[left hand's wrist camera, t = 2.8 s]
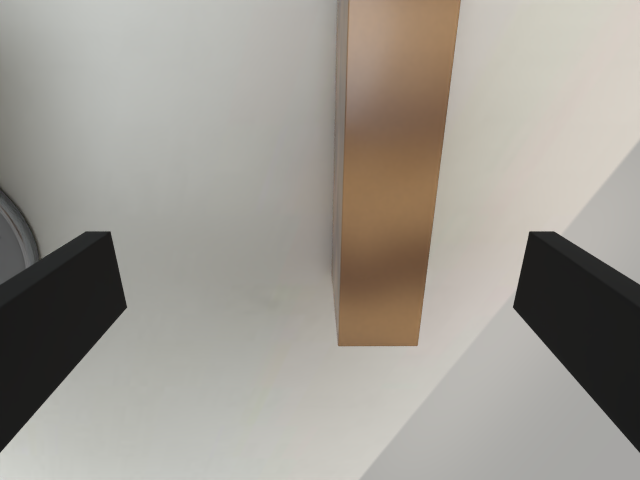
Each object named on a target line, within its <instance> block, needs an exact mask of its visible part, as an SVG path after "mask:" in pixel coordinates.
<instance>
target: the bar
mask: <svg viewBox="0 0 640 480" xmlns="http://www.w3.org/2000/svg"><path fill="white" fill-rule="evenodd" d="M460 2H461V0H337V42H336V90H335V138H334V187H333V235H332V284H333V295H334V307H335V318H336V329H337V340H338V346H417V345H418V338H419V330H420V322H421V314H422V306H423V298H424V290H425V282H426V274H427V266H428V258H429V250H430V242H431V234H432V226H433V218H434V210H435V202H436V194H437V186H438V178H439V170H440V162H441V154H442V146H443V138H444V130H445V122H446V114H447V106H448V98H449V90H450V82H451V74H452V66H453V58H454V50H455V42H456V34H457V26H458V18H459V10H460Z"/></svg>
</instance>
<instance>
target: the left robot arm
mask: <svg viewBox="0 0 640 480" xmlns="http://www.w3.org/2000/svg"><path fill="white" fill-rule="evenodd" d="M126 308H127V305H126V301H125V296H124V291H123V287H122V282H121V278H120V273H119V268H118V264H117V259H116V255H115V250H114V245H113V241H112V236H111V232H84V233H83V234H81V235H80V236H78V237H76V238H75V239H73V240H72V241H70V242H68V243H67V244H65V245H63V246H62V247H60V248H59V249H57V250H55V251H54V252H52V253H51V254H49V255H47V256H46V257H44V258H42V259H41V260H39V256H38V250H37V246H36V243H35V240H34V237H33V235H32V232H31V230H30V228H29V226H28V224H27V222H26V221H25V219H24V217H23V216H22V214H21V213H20V212H19V210H18V209H17V207H16V206H15V205H14V204H13V202H12V201H11V200H10V199H9V198H8V197H7V196H6V195H5V194H4V193H3V192H2V191H1V190H0V452H1V451H2V450H3V449H4V448H5V447H6V445H7V444H8V443H9V442H10V441H11V440H12V439H13V437H14V436H15V435H16V434H17V433H18V432H19V431H20V429H21V428H22V427H23V426H24V425H25V424H26V423H27V421H28V420H29V419H30V418H31V417H32V416H33V415H34V413H35V412H36V411H37V410H38V409H39V408H40V406H41V405H42V404H43V403H44V402H45V401H46V400H47V398H48V397H49V396H50V395H51V394H52V393H53V392H54V390H55V389H56V388H57V387H58V386H59V385H60V384H61V382H62V381H63V380H64V379H65V378H66V377H67V376H68V374H69V373H70V372H71V371H72V370H73V369H74V368H75V366H76V365H77V364H78V363H79V362H80V361H81V360H82V358H83V357H84V356H85V355H86V354H87V353H88V352H89V350H90V349H91V348H92V347H93V346H94V345H95V344H96V342H97V341H98V340H99V339H100V338H101V337H102V335H103V334H104V333H105V332H106V331H107V330H108V329H109V327H110V326H111V325H112V324H113V323H114V322H115V321H116V319H117V318H118V317H119V316H120V315H121V314H122V313H123V311H124V310H125V309H126ZM513 308H514V309H515V310H516V311H517V313H518V314H519V315H520V316H521V317H522V318H523V319H524V321H525V322H526V323H527V324H528V325H529V326H530V327H531V329H532V330H533V331H534V332H535V333H536V334H537V335H538V337H539V338H540V339H541V340H542V341H543V342H544V344H545V345H546V346H547V347H548V348H549V349H550V350H551V352H552V353H553V354H554V355H555V356H556V357H557V358H558V360H559V361H560V362H561V363H562V364H563V365H564V366H565V368H566V369H567V370H568V371H569V372H570V373H571V374H572V376H573V377H574V378H575V379H576V380H577V381H578V382H579V384H580V385H581V386H582V387H583V388H584V389H585V390H586V392H587V393H588V394H589V395H590V396H591V397H592V398H593V400H594V401H595V402H596V403H597V404H598V405H599V406H600V408H601V409H602V410H603V411H604V412H605V413H606V415H607V416H608V417H609V418H610V419H611V420H612V421H613V422H614V424H615V425H616V426H617V427H618V428H619V429H620V431H621V432H622V433H623V434H624V435H625V436H626V437H627V439H628V440H629V441H630V442H631V443H632V444H633V445H634V447H635V448H636V449H637V450H638V451H639V452H640V285H639V284H638V283H636V282H635V281H633V280H631V279H630V278H628V277H627V276H625V275H623V274H622V273H620V272H618V271H617V270H615V269H614V268H612V267H610V266H609V265H607V264H606V263H604V262H602V261H601V260H599V259H598V258H596V257H594V256H593V255H591V254H589V253H588V252H586V251H585V250H583V249H581V248H580V247H578V246H577V245H575V244H573V243H572V242H570V241H568V240H567V239H565V238H564V237H562V236H560V235H559V234H557V233H556V232H529V236H528V241H527V245H526V250H525V255H524V259H523V264H522V268H521V273H520V278H519V282H518V287H517V291H516V296H515V301H514V305H513Z"/></svg>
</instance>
